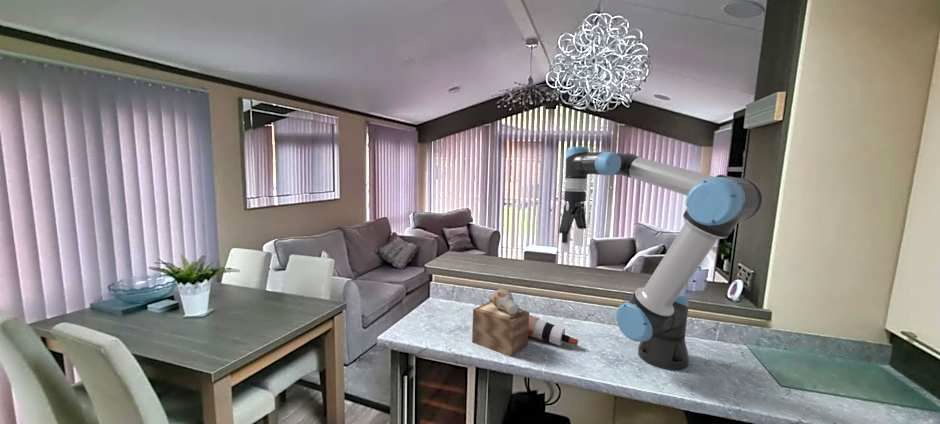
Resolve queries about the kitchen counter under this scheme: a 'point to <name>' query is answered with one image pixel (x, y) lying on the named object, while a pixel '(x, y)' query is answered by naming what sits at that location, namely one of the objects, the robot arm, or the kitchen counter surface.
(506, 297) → the mug
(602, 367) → the kitchen counter surface
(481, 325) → the plate
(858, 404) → the kitchen counter surface
